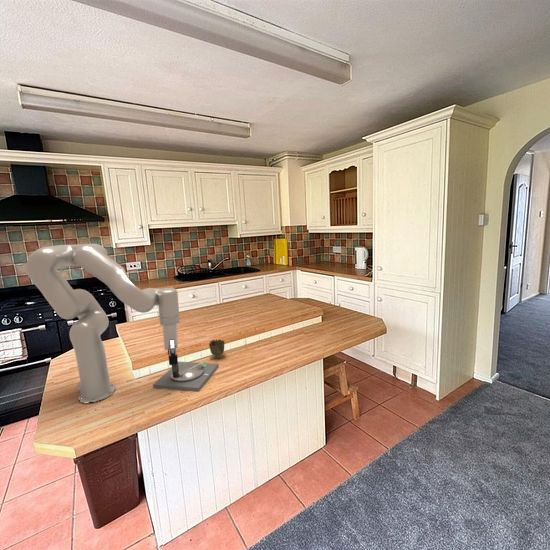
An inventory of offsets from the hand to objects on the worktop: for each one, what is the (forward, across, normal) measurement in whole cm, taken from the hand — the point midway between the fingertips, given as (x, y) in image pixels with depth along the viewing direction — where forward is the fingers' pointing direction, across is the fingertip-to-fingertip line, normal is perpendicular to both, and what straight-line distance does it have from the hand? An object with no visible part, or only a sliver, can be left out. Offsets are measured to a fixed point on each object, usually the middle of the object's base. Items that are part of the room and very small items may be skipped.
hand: (172, 359), depth 120 cm
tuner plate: (+10, -3, +6) cm, 12 cm away
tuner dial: (+9, -4, +7) cm, 12 cm away
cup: (+10, -15, +21) cm, 28 cm away
